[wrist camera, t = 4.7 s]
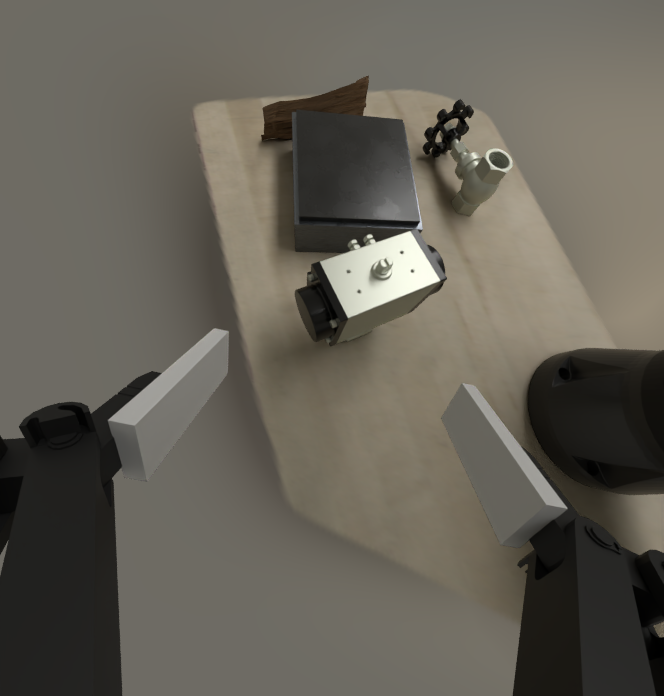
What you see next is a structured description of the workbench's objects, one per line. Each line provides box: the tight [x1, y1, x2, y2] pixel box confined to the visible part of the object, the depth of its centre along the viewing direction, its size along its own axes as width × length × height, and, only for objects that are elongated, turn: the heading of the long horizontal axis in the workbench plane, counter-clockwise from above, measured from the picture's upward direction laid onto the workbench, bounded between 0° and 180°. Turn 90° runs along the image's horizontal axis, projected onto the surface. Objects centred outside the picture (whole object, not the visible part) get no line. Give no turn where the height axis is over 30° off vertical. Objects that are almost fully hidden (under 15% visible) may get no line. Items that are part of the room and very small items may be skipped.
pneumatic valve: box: [295, 229, 447, 346], centre depth 22 cm, size 6×12×12 cm, turn 115°
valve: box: [423, 99, 514, 216], centre depth 32 cm, size 7×7×12 cm
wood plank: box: [261, 76, 369, 141], centre depth 33 cm, size 15×2×5 cm, turn 120°
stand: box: [292, 109, 423, 253], centre depth 30 cm, size 16×14×5 cm
